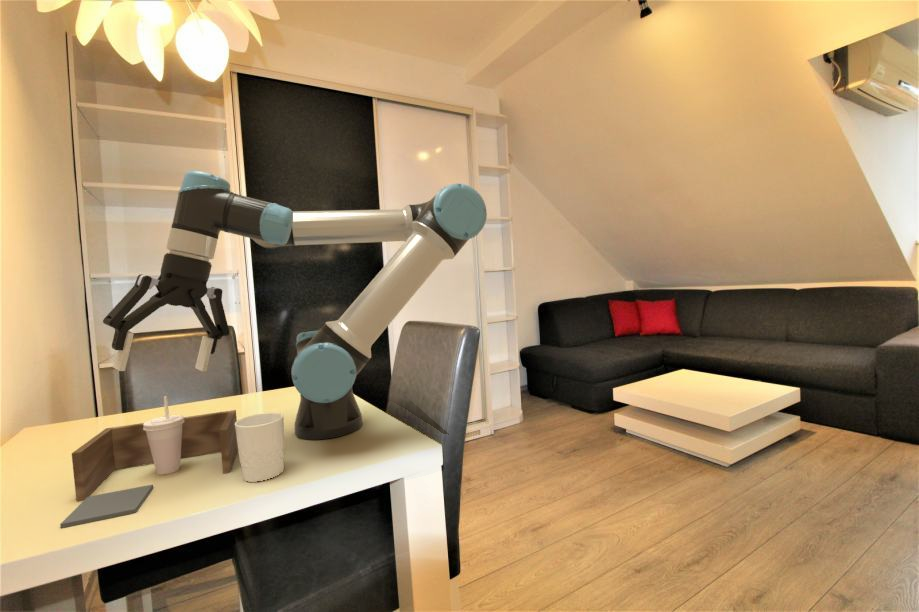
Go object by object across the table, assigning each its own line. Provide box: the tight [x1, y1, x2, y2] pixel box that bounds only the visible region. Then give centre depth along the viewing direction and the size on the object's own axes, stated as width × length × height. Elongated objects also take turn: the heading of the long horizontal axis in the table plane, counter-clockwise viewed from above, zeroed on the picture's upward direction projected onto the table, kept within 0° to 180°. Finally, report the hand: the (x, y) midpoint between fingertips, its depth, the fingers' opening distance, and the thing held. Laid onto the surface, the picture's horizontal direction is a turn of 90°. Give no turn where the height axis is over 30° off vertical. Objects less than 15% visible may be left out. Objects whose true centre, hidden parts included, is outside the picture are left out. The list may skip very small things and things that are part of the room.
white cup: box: [235, 412, 285, 483], centre depth 76 cm, size 8×8×10 cm
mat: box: [59, 484, 154, 529], centre depth 67 cm, size 9×9×1 cm
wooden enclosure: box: [71, 409, 238, 502], centre depth 80 cm, size 22×14×8 cm, turn 112°
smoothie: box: [143, 395, 185, 476], centre depth 80 cm, size 6×6×14 cm
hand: (162, 369), depth 78 cm, fingers open, 13 cm apart
